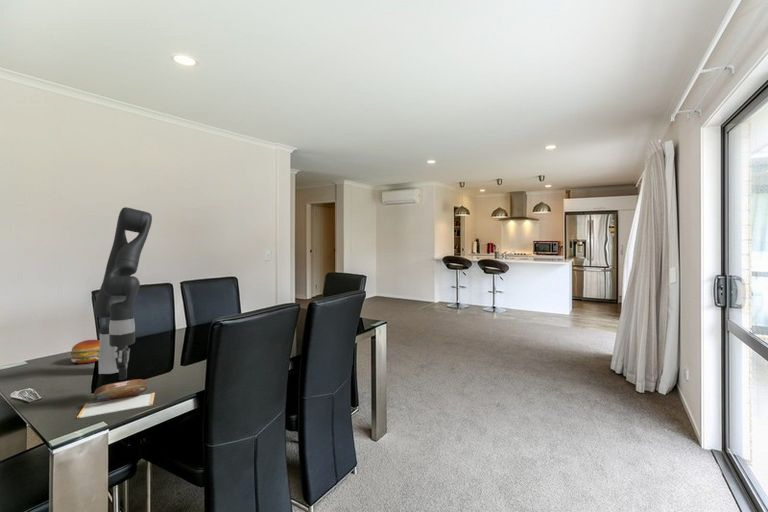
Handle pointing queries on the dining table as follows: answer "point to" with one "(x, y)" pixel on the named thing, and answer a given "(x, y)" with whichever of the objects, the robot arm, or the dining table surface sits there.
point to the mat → (116, 405)
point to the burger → (86, 351)
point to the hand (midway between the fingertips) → (122, 378)
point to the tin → (120, 390)
